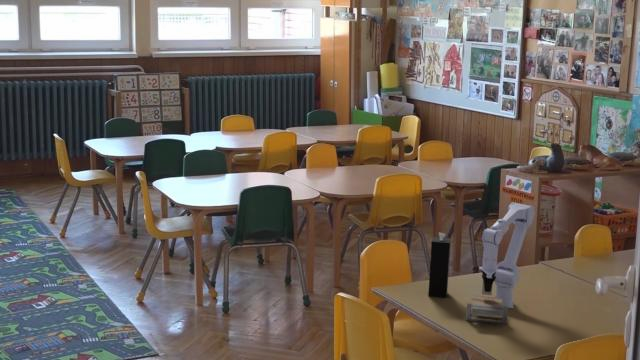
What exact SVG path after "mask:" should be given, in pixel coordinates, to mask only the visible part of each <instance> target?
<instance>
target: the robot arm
mask: <svg viewBox="0 0 640 360" xmlns="http://www.w3.org/2000/svg"><path fill="white" fill-rule="evenodd" d="M535 215H536V212H535V207H534V205H529V204H528V205H527V204H524V203H518V202H515V201H513V202H511V203H510V204H509V205H508V208H507V212H506V213H505V215H504V216H503V218H499V219H497V220H496V221H495V222H494V223H493V225H492V226H490V228H488V227H487V228H486V229H483V232H482V235H481V241H482V247H483V255H482V264H481V265H482V266H479V268H478V269H479V271H480V270H481V273H482V274H481V278H482V281H484V288H485V292H490V291H491V288H492V289H493V285H492V284H495V285H496V286H495V297H496V298H502V306H503V309H504V306H508V309H514V287H516V286H517V285H518V283H519V279H520V273H521V270H520V268H519V267H518V266H517V262H518V258H519V255H520V252H521V249H522V246H523V243H524V239H525V237H526V234H527V231H528V229H529V228H530V227H532V224H533V221H534V218H535ZM511 224H513V225H514V230H513V232H512V236H511V239H510V242H509V245H508V248H507V250H506V251H507V252H506V253H505V256H504V260H503V261H500V262H498V254H499V253H498V252H499V245H500V244H501V242H502V240H503V238H504V235H505V234H506V233H507V232H508V231H509V229H510V225H511Z"/></svg>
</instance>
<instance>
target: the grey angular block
mask: <svg viewBox="0 0 640 360" xmlns="http://www.w3.org/2000/svg"><path fill="white" fill-rule="evenodd" d="M465 310H466V311H465V312H466V314H465V320H466V321H467V322H468V321H469V322H478V323H488V324H489V323H491V324H501V325H507V324H508V310H509V308H508V306H504V308H503V317H501V319H492V318H481V317H480V318H479V317H471V315H472V302H467V303H466V309H465Z"/></svg>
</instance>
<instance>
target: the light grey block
mask: <svg viewBox="0 0 640 360" xmlns="http://www.w3.org/2000/svg"><path fill="white" fill-rule="evenodd" d="M481 281H482V283H481V296H483V295H485V296H492V295H493V287H492V288H491V291H490V292H485V288H484V281H483V280H481ZM493 284H494V283H493ZM493 284H492V286H493Z"/></svg>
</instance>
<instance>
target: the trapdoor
mask: <svg viewBox="0 0 640 360" xmlns="http://www.w3.org/2000/svg"><path fill="white" fill-rule="evenodd" d="M503 309H504V308H503V306H502V298H496V297H493V296H486V295H485V296H483V295H472V297H471V315H479V316H490V317H501V318H502V317H503Z"/></svg>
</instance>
